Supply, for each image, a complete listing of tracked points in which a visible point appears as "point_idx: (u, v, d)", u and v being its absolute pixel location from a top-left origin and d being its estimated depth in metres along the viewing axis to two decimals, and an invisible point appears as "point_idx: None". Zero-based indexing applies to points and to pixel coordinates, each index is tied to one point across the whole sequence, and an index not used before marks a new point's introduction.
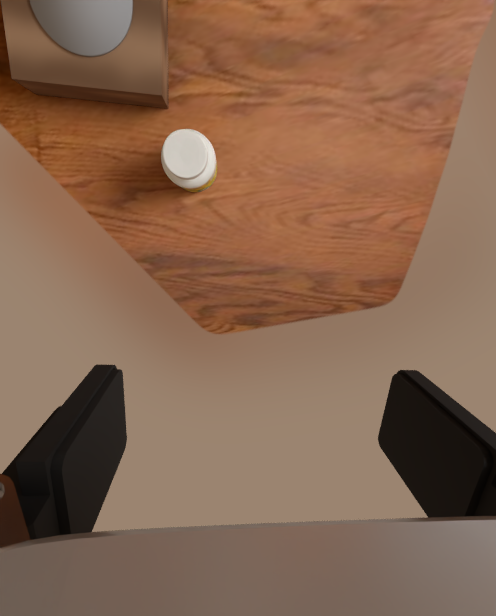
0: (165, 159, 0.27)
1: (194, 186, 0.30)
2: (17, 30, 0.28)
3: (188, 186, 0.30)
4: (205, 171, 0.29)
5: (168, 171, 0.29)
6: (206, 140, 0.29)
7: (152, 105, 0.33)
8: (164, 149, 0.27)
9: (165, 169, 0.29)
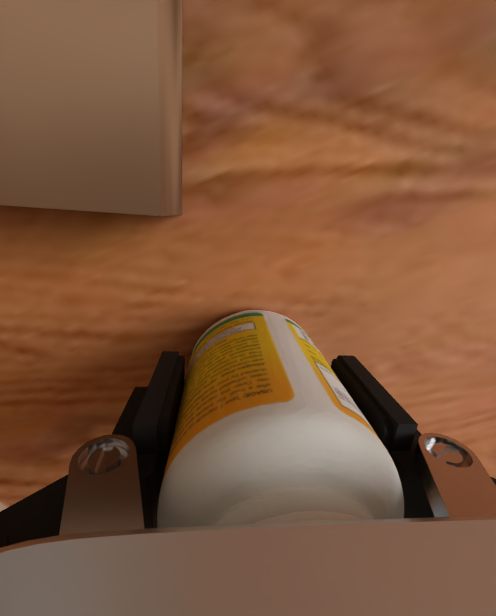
0: None
1: None
2: None
3: None
4: None
5: None
6: (384, 468, 0.06)
7: None
8: None
9: None
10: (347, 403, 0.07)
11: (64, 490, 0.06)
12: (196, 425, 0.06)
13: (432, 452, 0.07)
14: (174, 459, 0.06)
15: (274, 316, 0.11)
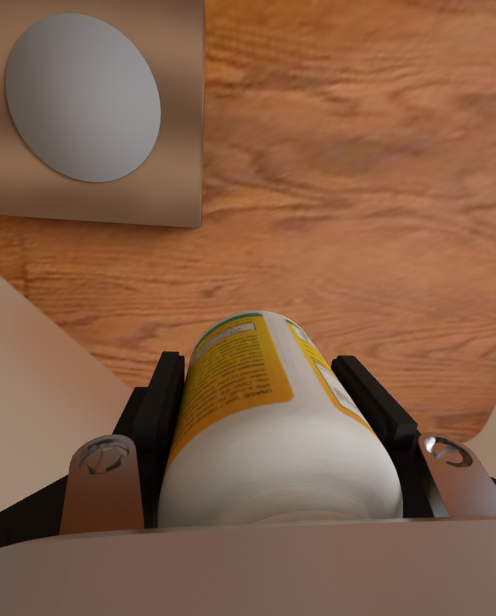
0: None
1: None
2: None
3: None
4: None
5: None
6: (383, 468, 0.06)
7: None
8: None
9: None
10: (346, 403, 0.07)
11: (64, 490, 0.06)
12: (196, 425, 0.06)
13: (432, 452, 0.07)
14: (174, 459, 0.06)
15: (274, 317, 0.11)
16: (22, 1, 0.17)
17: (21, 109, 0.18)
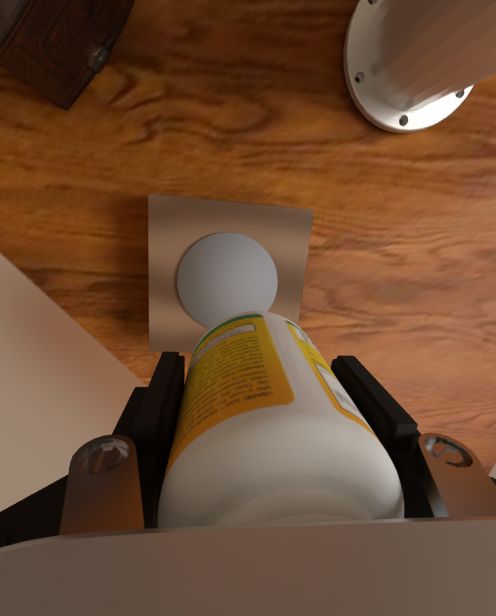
0: None
1: None
2: (161, 312, 0.27)
3: None
4: None
5: None
6: (384, 471, 0.06)
7: None
8: None
9: None
10: (347, 405, 0.07)
11: (64, 490, 0.06)
12: (196, 428, 0.06)
13: (432, 452, 0.07)
14: (174, 462, 0.06)
15: (274, 318, 0.11)
16: (195, 225, 0.25)
17: (185, 288, 0.27)
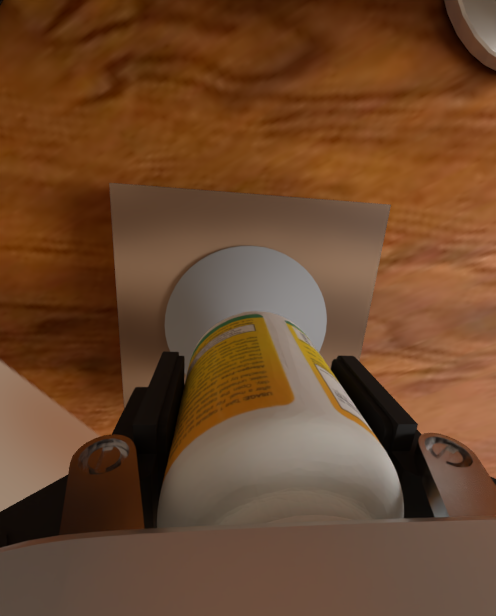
0: None
1: None
2: (141, 373, 0.17)
3: None
4: None
5: None
6: (384, 472, 0.06)
7: None
8: None
9: None
10: (347, 406, 0.07)
11: (64, 490, 0.06)
12: (196, 428, 0.06)
13: (432, 452, 0.07)
14: (174, 462, 0.06)
15: (274, 318, 0.11)
16: (191, 234, 0.15)
17: (178, 337, 0.16)
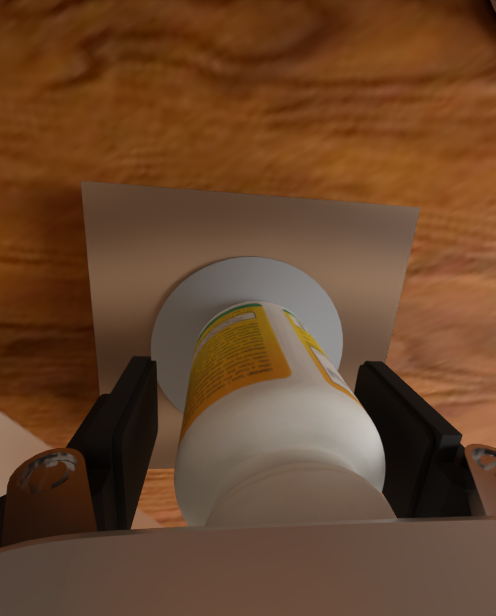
0: None
1: None
2: None
3: None
4: None
5: None
6: (368, 432, 0.07)
7: None
8: None
9: None
10: (337, 380, 0.08)
11: (2, 510, 0.05)
12: (207, 400, 0.07)
13: (479, 463, 0.07)
14: (188, 428, 0.07)
15: (272, 306, 0.12)
16: (182, 243, 0.13)
17: (167, 365, 0.14)
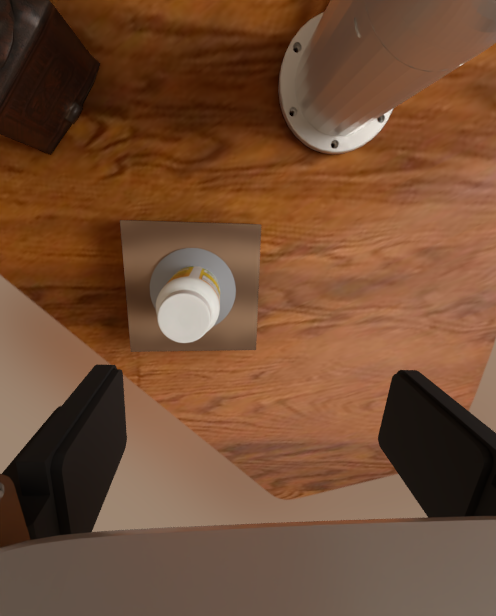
0: (161, 326, 0.23)
1: None
2: (138, 318, 0.32)
3: None
4: None
5: None
6: (208, 289, 0.25)
7: None
8: (159, 316, 0.22)
9: None
10: (205, 280, 0.26)
11: None
12: None
13: None
14: None
15: (198, 267, 0.30)
16: (161, 243, 0.30)
17: None
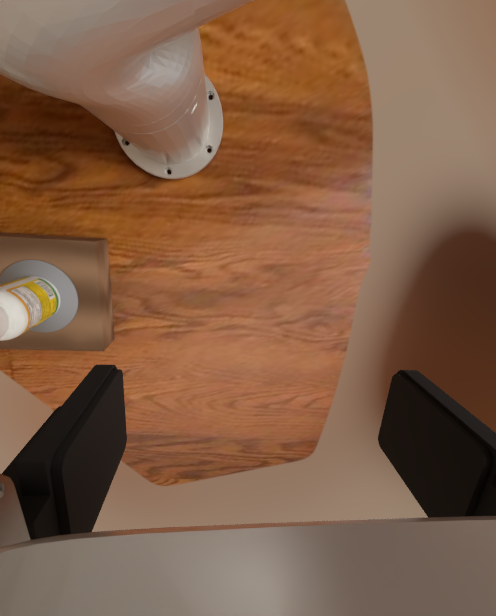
0: None
1: (7, 339, 0.30)
2: None
3: (0, 340, 0.30)
4: (12, 328, 0.29)
5: None
6: (9, 300, 0.29)
7: None
8: None
9: None
10: (14, 291, 0.30)
11: None
12: None
13: None
14: None
15: (34, 277, 0.34)
16: (4, 255, 0.34)
17: None
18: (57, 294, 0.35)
